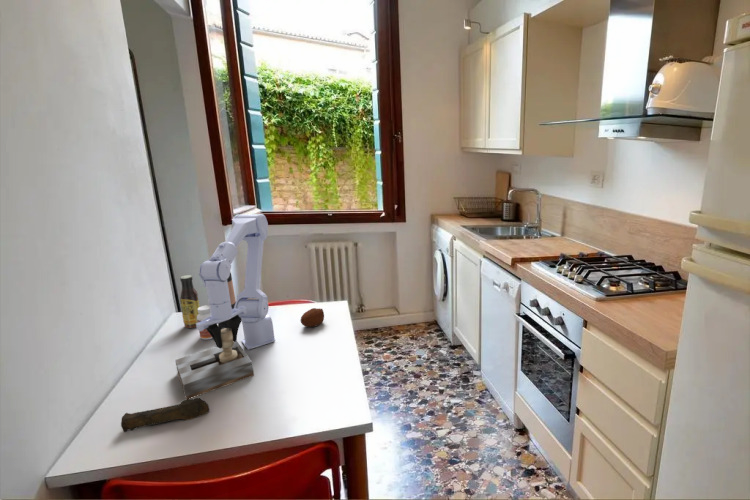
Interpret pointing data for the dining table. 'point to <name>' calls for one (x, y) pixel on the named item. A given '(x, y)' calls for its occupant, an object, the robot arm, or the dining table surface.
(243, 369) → the keyhole plate
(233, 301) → the travel mug
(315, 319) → the potato
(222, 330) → the keyhole peg
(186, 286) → the sauce bottle
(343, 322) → the dining table surface
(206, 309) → the pill bottle
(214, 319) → the robot arm
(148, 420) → the hand tool
